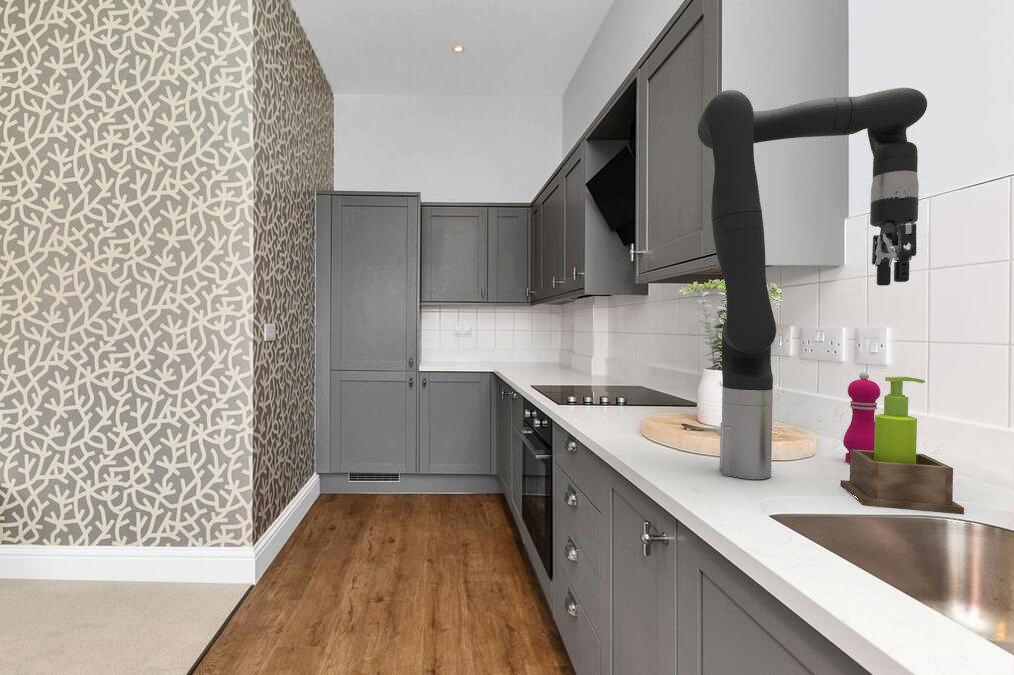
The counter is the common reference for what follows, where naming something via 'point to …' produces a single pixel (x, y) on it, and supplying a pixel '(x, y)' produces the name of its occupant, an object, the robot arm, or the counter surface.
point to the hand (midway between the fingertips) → (892, 283)
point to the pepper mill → (861, 415)
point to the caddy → (901, 483)
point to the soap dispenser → (896, 427)
